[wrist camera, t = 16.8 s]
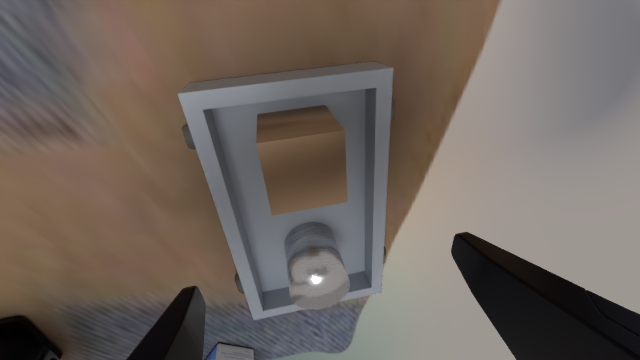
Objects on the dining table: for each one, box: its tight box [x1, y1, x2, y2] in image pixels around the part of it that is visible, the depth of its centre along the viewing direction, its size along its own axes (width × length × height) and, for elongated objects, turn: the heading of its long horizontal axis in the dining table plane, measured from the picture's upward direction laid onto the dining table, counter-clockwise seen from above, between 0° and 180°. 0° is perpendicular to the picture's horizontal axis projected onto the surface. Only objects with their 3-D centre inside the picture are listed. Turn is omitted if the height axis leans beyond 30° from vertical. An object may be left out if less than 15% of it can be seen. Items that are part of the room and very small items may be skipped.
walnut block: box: [256, 105, 348, 216], centre depth 17 cm, size 4×4×5 cm
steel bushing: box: [284, 222, 350, 310], centre depth 22 cm, size 4×4×5 cm
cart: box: [178, 61, 395, 320], centre depth 22 cm, size 20×14×3 cm
